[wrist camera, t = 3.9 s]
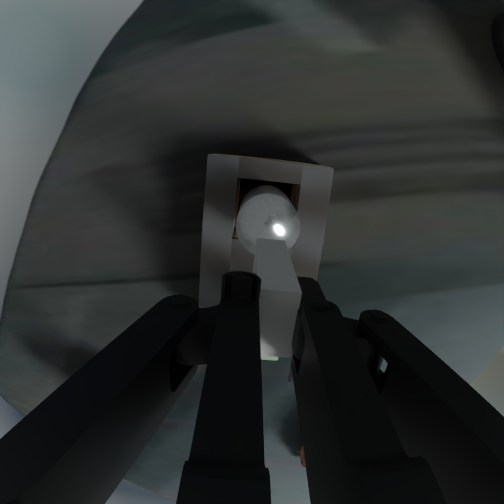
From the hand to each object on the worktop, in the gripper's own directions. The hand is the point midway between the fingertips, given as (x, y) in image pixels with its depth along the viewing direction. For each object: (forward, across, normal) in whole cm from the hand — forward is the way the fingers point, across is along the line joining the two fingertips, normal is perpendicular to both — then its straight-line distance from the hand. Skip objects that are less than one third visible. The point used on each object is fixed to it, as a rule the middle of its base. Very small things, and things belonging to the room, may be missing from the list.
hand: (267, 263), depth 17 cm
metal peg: (+15, 0, 0) cm, 15 cm away
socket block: (+21, 0, -5) cm, 22 cm away
